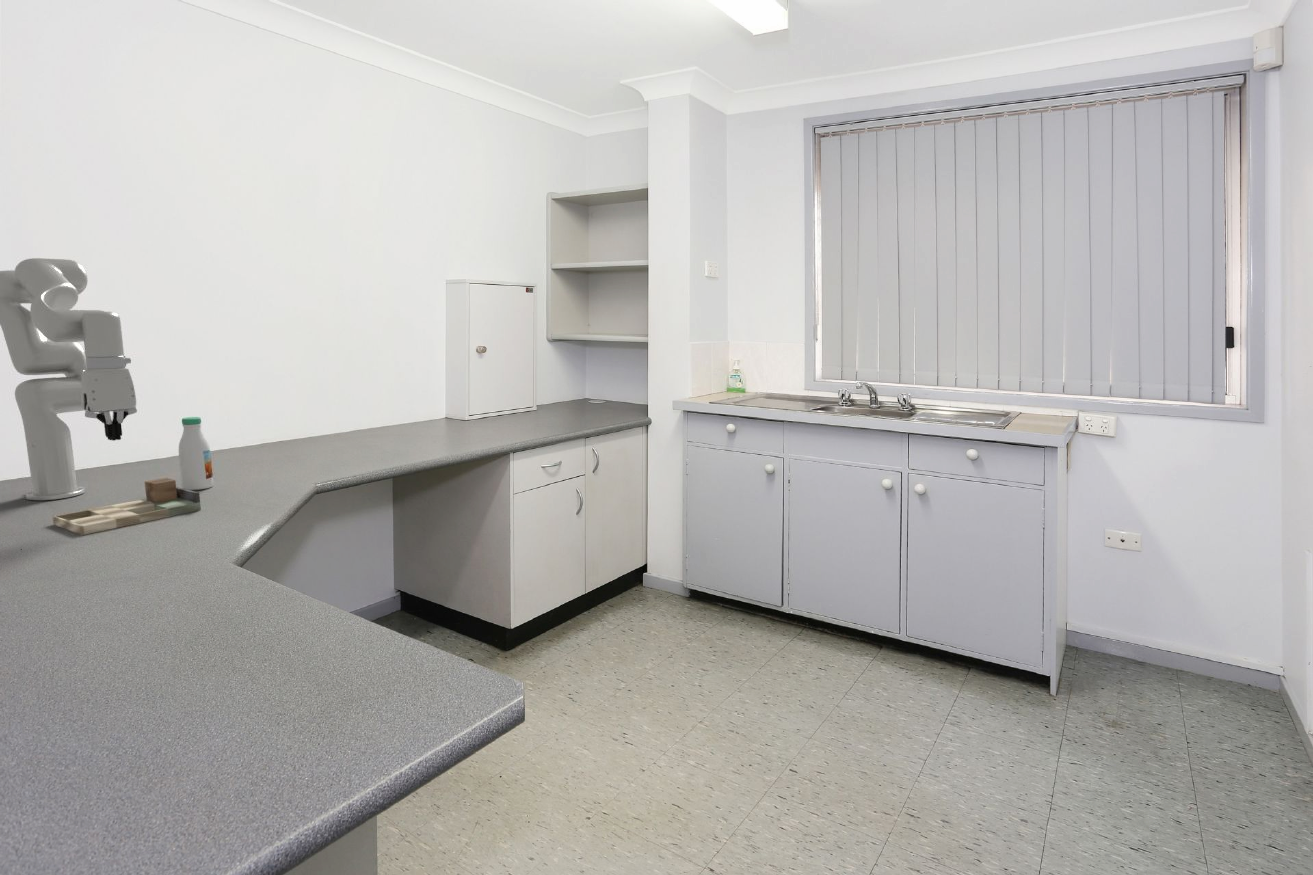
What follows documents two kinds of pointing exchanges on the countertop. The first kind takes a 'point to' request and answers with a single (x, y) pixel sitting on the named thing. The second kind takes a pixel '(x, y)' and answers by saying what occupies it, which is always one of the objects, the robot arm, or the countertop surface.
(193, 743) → the countertop surface
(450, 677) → the countertop surface
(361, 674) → the countertop surface
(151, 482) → the walnut block
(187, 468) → the milk bottle
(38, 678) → the countertop surface
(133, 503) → the trap board
